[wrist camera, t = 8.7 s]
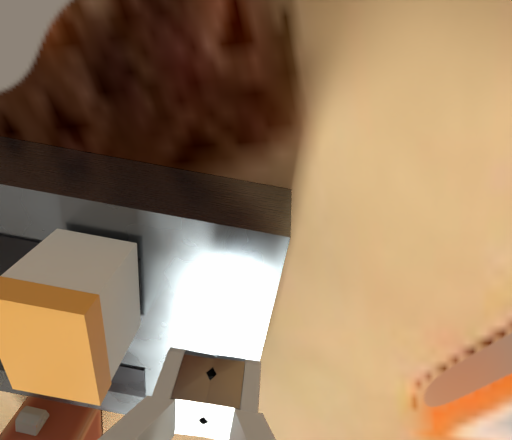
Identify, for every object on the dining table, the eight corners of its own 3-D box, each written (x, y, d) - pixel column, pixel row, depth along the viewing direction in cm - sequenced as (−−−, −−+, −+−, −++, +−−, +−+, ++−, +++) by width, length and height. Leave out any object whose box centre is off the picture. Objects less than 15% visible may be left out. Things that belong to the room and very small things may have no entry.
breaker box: (291, 189, 15) (288, 320, 8) (249, 373, 22) (229, 523, 15) (-174, 104, 15) (-546, 164, 8) (-66, 313, 22) (-220, 435, 16)
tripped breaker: (138, 242, 12) (84, 315, 9) (141, 325, 14) (100, 405, 11) (55, 227, 12) (-26, 294, 9) (73, 312, 14) (12, 389, 11)
